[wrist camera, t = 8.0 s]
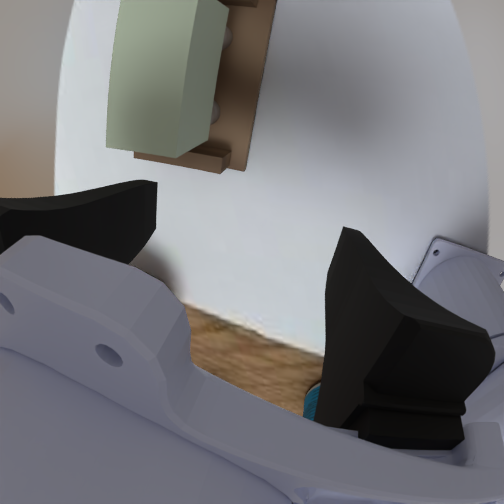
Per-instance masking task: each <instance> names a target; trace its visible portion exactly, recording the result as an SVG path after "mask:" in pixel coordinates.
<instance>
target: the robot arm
mask: <svg viewBox="0 0 504 504" xmlns="http://www.w3.org/2000/svg"><path fill="white" fill-rule="evenodd" d="M157 184H158V182H153V181H148V180H133V181H128V182H123V183H118V184H114V185H109V186H105V187H101V188H96V189H91V190H87V191H82V192H77V193H71V194H65V195H58V196H49V197H37V198H0V504H504V292H503V290H502V288H501V287H500V285H501V283H502V281H503V279H504V261H502V260H500V259H497V258H494V257H492V256H489V255H486V254H483V253H481V252H478V251H475V250H472V249H469V248H467V247H464V246H461V245H458V244H455V243H452V242H449V241H446V240H443V239H439V238H438V239H435V240H434V241H433V242H432V244H431V247H430V249H429V251H428V253H427V255H426V257H425V260H424V262H423V264H422V266H421V268H420V270H419V272H418V274H417V276H416V278H415V280H414V282H413V284H411V283H410V282H409V281H408V280H406V279H405V278H404V277H403V276H402V275H401V274H400V273H399V272H398V271H397V270H396V269H395V268H394V267H393V266H392V265H391V264H390V263H389V262H388V261H387V260H386V259H385V258H384V257H383V256H382V255H381V254H380V252H379V251H378V250H377V249H376V248H375V247H374V246H373V244H372V243H371V242H370V241H369V240H368V239H367V238H366V237H365V236H364V235H363V234H362V233H361V232H360V231H358V230H354V229H351V228H347V227H344V226H343V229H342V232H341V235H340V238H339V241H338V244H337V247H336V250H335V253H334V256H333V258H332V261H331V264H330V267H329V270H328V273H327V281H326V290H325V326H326V343H325V355H324V363H323V370H322V377H321V383H320V389H319V395H318V400H317V405H316V410H315V415H314V420H313V421H311V420H309V419H306V418H304V417H302V416H299V415H297V414H295V413H292V412H290V411H288V410H285V409H283V408H281V407H278V406H276V405H274V404H272V403H270V402H267V401H265V400H263V399H261V398H259V397H257V396H254V395H252V394H250V393H248V392H246V391H244V390H242V389H240V388H238V387H236V386H234V385H232V384H230V383H228V382H226V381H224V380H222V379H220V378H218V377H216V376H214V375H212V374H211V373H209V372H207V371H205V370H203V369H201V368H199V367H198V366H196V365H195V364H193V362H192V361H191V355H190V341H191V329H190V325H189V322H188V318H187V314H186V311H185V307H184V306H183V305H182V303H181V302H180V301H179V300H178V299H177V298H176V297H175V295H174V294H173V293H172V292H171V291H170V290H169V288H168V287H167V286H166V285H165V284H164V283H163V282H162V281H160V280H158V279H156V278H154V277H152V276H151V275H149V274H147V273H145V272H143V271H141V270H140V269H138V268H136V267H133V266H130V265H128V264H129V263H130V262H131V261H132V260H133V259H134V257H135V256H136V255H137V254H138V253H139V252H140V251H141V250H142V248H143V247H144V246H145V245H146V243H147V242H148V240H149V239H150V237H151V236H152V234H153V232H154V231H155V229H156V209H157ZM434 250H438V251H437V253H433V252H434ZM501 272H502V273H501ZM500 273H501V274H500Z"/></svg>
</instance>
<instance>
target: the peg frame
mask: <svg viewBox="0 0 504 504" xmlns="http://www.w3.org/2000/svg"><path fill="white" fill-rule="evenodd" d="M217 1H219V2H220V3H222V4H223V5H225V6H226V7H227V8H229V13H228V18H227V23H226V29H225V34H224V40H223V45H222V51H221V57H220V63H219V69H218V75H217V81H216V88H215V94H214V101H213V108H212V115H211V122H210V129H209V136H208V140H207V141H205V142H203V143H202V144H200V145H198V146H196V147H195V148H193V149H191V150H189V151H188V152H186V153H184V154H182V155H181V156H179V157H177V158H171V157H165V156H159V155H153V154H147V153H141V152H134V158H137V159H143V160H149V161H155V162H160V163H166V164H171V165H177V166H182V167H187V168H193V169H198V170H203V171H208V172H213V173H217V174H221V173H222V172H223V171H224V170H225V169H226V168H229V169H234V170H239V171H243V172H244V171H245V169H246V165H247V159H248V153H249V148H250V142H251V136H252V130H253V125H254V119H255V114H256V108H257V102H258V97H259V91H260V86H261V81H262V75H263V70H264V64H265V59H266V54H267V49H268V43H269V38H270V33H271V28H272V23H273V18H274V13H275V7H276V2H277V0H217Z"/></svg>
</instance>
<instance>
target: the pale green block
mask: <svg viewBox="0 0 504 504" xmlns="http://www.w3.org/2000/svg"><path fill="white" fill-rule="evenodd" d="M228 13H229V8H227V7H226V6H225V5H223V4H222V3H220V2H219V1H217V0H121V2H120V8H119V13H118V19H117V25H116V32H115V38H114V46H113V53H112V62H111V71H110V81H109V93H108V108H107V129H106V147H107V148H114V149H121V150H128V151H134V152H141V153H147V154H153V155H159V156H165V157H171V158H177V157H179V156H181V155H182V154H184V153H186V152H188V151H189V150H191V149H193V148H195V147H196V146H198V145H200V144H202V143H203V142H205V141H207V140H208V136H209V129H210V122H211V115H212V108H213V101H214V94H215V88H216V81H217V75H218V69H219V63H220V57H221V51H222V45H223V40H224V34H225V29H226V23H227V18H228Z"/></svg>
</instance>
